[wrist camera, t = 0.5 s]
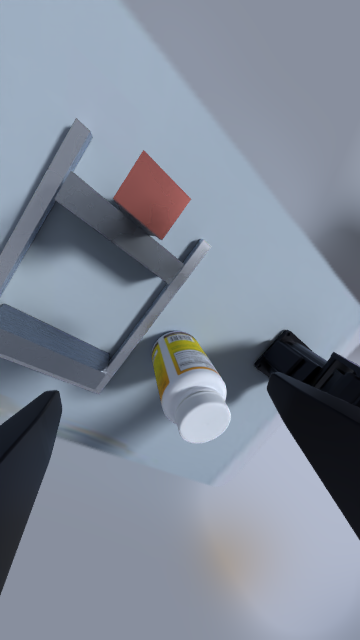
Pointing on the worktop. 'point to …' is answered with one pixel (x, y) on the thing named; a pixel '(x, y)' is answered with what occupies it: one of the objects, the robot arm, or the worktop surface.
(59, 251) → the worktop surface
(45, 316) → the worktop surface
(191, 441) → the supplement bottle
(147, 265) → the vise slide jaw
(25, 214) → the frame
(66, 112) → the worktop surface
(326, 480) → the robot arm
